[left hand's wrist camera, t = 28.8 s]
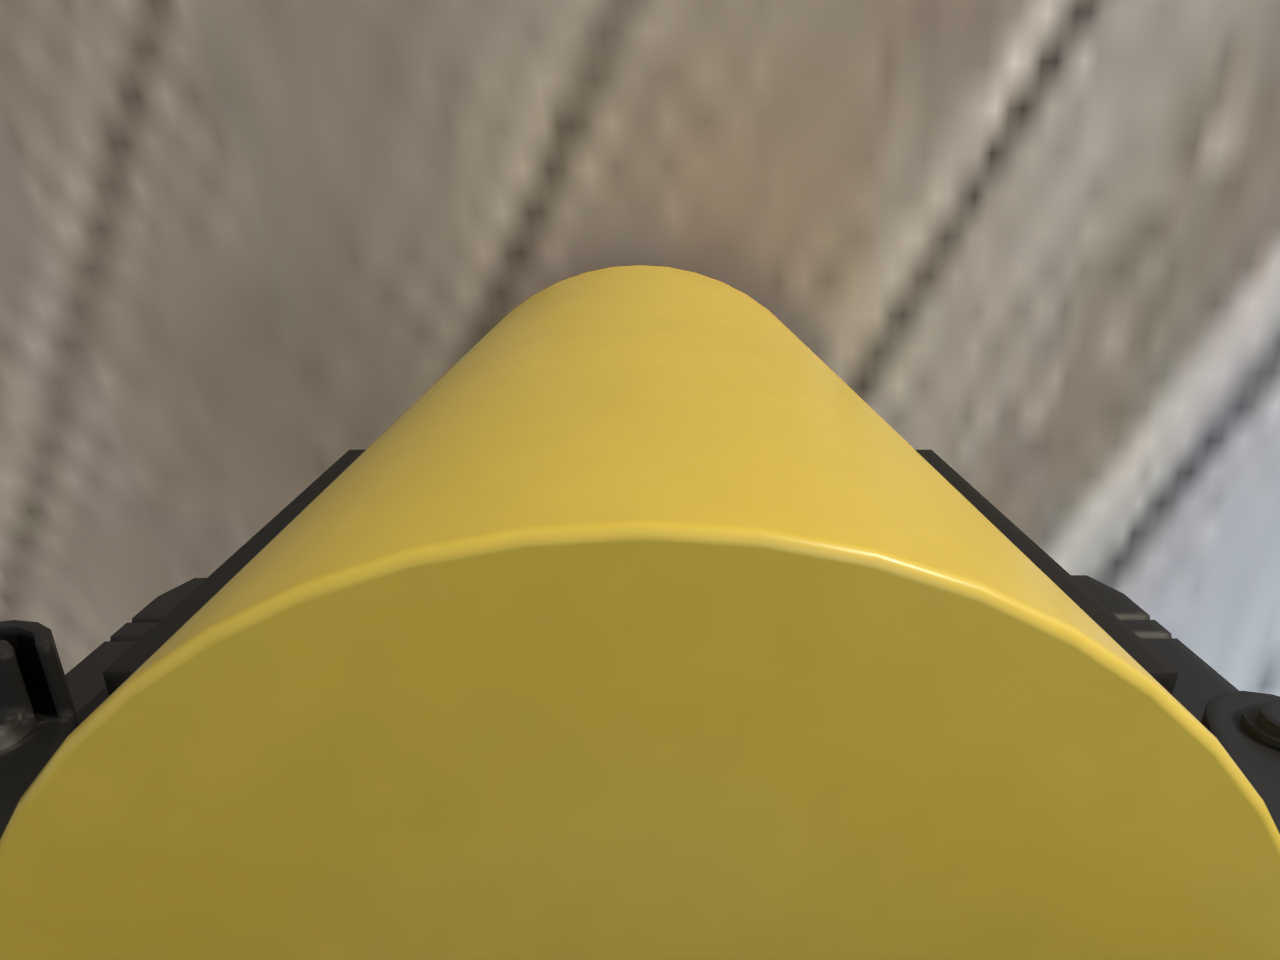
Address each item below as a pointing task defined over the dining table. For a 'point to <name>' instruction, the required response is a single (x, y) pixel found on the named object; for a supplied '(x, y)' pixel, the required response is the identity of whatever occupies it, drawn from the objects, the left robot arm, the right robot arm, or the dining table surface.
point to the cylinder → (640, 698)
